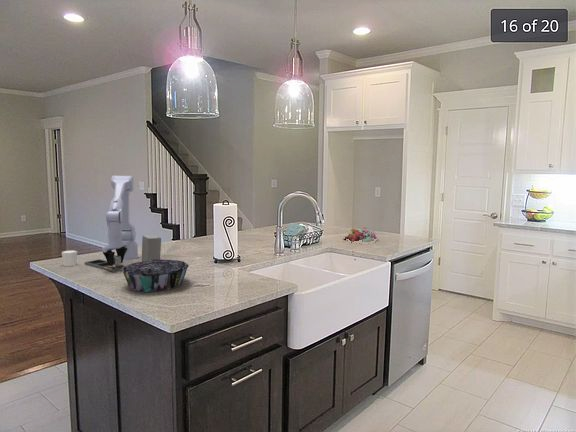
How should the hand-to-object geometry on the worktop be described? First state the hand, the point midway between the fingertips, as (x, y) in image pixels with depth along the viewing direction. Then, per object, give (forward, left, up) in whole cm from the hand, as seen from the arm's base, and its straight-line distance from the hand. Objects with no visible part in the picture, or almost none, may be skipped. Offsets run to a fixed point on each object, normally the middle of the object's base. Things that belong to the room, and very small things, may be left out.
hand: (115, 264), depth 200 cm
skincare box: (-13, +10, -3) cm, 16 cm away
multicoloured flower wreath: (-153, +57, -3) cm, 164 cm away
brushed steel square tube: (0, 0, -2) cm, 2 cm away
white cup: (+9, -24, -3) cm, 25 cm away
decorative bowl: (+4, +34, -3) cm, 34 cm away
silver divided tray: (0, -8, -3) cm, 8 cm away
